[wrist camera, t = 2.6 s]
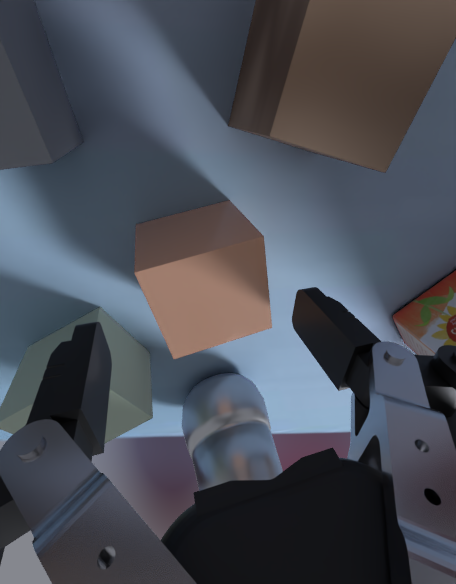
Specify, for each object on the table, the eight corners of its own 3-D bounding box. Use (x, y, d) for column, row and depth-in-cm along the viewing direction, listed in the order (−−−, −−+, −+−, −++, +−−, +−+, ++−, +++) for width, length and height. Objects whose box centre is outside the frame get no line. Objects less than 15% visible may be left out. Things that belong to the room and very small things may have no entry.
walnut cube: (262, -31, 10) (345, -123, 6) (364, 27, 12) (481, -12, 8) (227, 125, 12) (269, 136, 8) (316, 153, 14) (385, 173, 10)
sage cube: (28, 345, 16) (-8, 425, 12) (99, 305, 16) (87, 373, 12) (89, 384, 19) (76, 458, 15) (149, 351, 19) (152, 417, 15)
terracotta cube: (135, 223, 14) (134, 272, 10) (228, 199, 14) (263, 236, 10) (165, 298, 17) (173, 359, 13) (241, 276, 17) (272, 327, 13)
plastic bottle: (261, 390, 25) (469, 879, 9) (195, 420, 25) (292, 968, 9) (242, 350, 21) (551, 1085, 5) (163, 385, 21) (238, 1248, 5)
